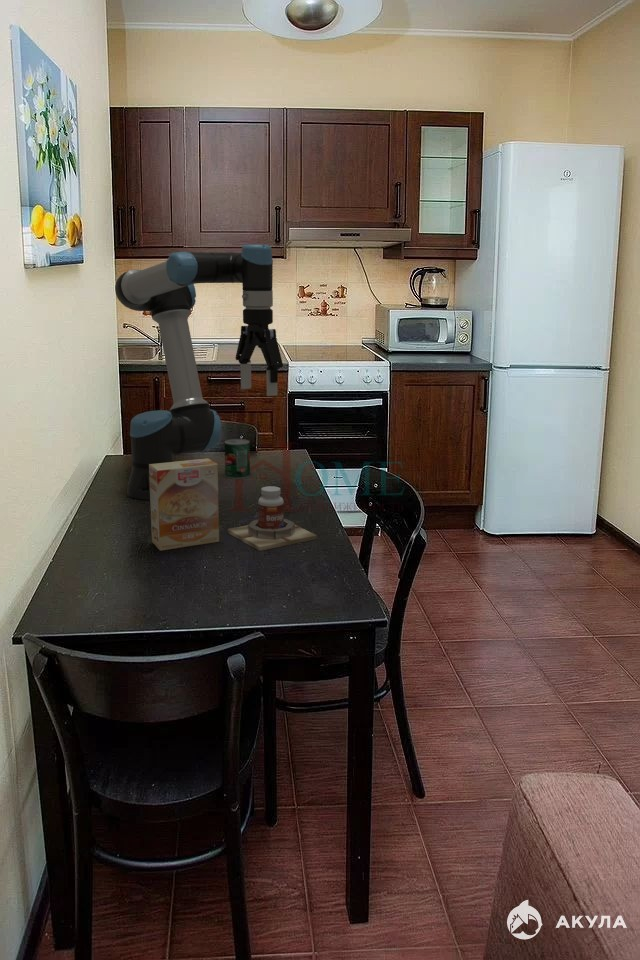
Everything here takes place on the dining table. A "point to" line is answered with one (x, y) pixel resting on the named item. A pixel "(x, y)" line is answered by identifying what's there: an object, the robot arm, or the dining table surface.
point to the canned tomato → (237, 458)
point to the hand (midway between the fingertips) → (258, 392)
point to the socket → (271, 535)
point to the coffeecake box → (184, 503)
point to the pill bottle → (270, 508)
